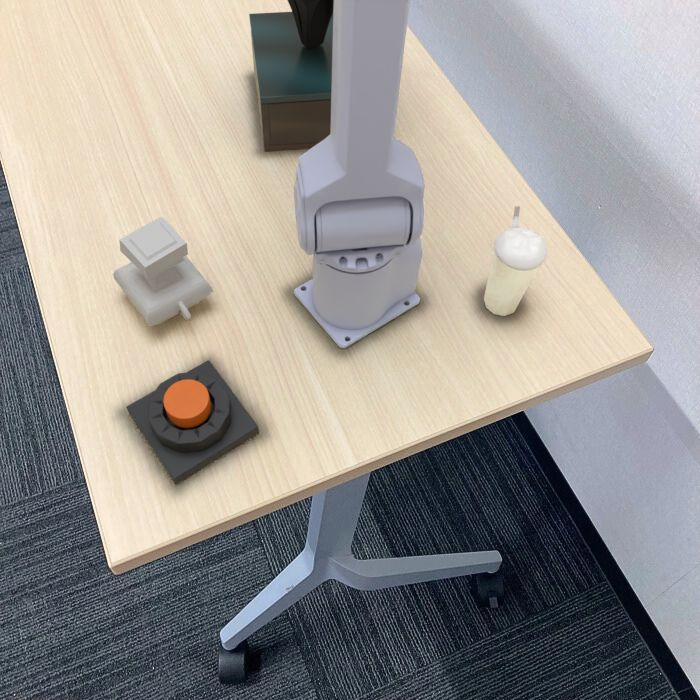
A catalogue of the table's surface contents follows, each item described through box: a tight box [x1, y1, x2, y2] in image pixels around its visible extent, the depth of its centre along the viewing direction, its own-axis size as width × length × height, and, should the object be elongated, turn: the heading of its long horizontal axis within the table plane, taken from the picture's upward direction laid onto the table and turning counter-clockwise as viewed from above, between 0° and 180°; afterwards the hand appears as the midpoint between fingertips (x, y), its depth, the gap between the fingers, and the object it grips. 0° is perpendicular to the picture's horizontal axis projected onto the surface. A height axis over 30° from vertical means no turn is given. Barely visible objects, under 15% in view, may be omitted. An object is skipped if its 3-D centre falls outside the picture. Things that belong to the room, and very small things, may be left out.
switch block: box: [126, 360, 260, 485], centre depth 59 cm, size 8×8×3 cm
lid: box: [248, 11, 333, 104], centre depth 77 cm, size 13×13×1 cm
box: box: [250, 33, 331, 152], centre depth 80 cm, size 13×13×6 cm
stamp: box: [112, 216, 214, 327], centre depth 64 cm, size 9×7×8 cm
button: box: [163, 379, 212, 428], centre depth 58 cm, size 4×4×2 cm
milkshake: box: [483, 205, 548, 317], centre depth 65 cm, size 4×5×10 cm
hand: (312, 42), depth 76 cm, fingers closed
